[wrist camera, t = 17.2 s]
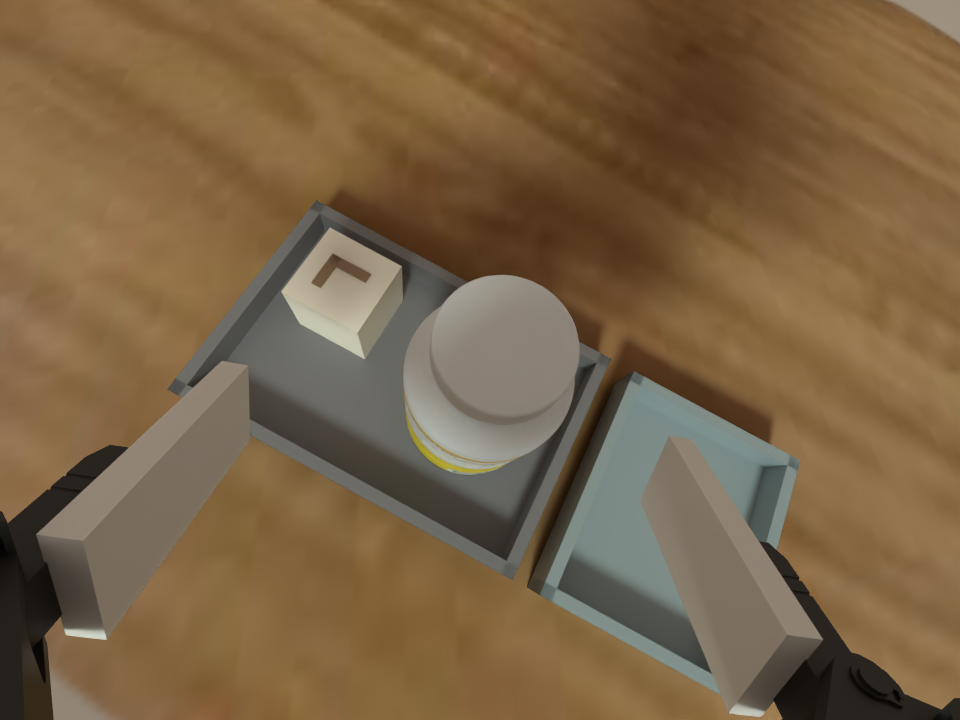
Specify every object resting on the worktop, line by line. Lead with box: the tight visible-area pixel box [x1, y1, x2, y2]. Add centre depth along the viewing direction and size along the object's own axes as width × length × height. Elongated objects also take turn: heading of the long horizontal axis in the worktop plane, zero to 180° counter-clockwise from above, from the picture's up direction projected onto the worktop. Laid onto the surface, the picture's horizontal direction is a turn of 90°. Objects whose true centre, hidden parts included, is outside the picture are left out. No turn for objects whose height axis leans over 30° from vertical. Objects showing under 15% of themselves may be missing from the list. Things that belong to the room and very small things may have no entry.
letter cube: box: [281, 228, 403, 359], centre depth 25 cm, size 4×4×4 cm
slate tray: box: [527, 371, 800, 695], centre depth 25 cm, size 12×10×2 cm
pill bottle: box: [403, 275, 580, 476], centre depth 20 cm, size 6×6×12 cm
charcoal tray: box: [168, 200, 611, 580], centre depth 25 cm, size 12×18×2 cm
